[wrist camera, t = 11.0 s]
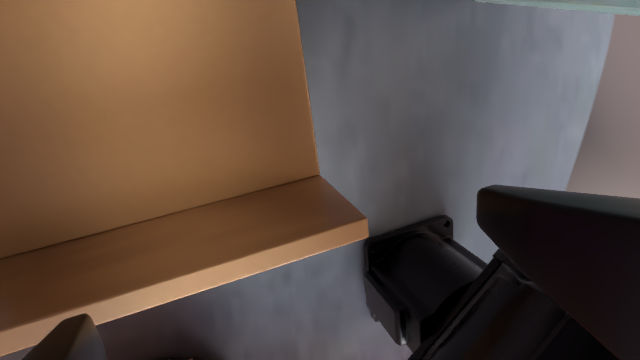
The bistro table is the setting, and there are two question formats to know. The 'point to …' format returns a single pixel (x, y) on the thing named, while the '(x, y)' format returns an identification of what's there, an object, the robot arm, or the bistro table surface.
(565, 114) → the bistro table surface
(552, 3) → the disposable coffee cup
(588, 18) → the bistro table surface
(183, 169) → the shelf
